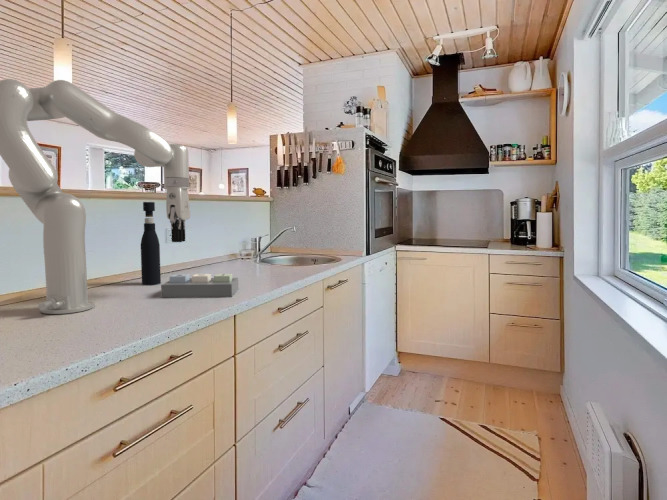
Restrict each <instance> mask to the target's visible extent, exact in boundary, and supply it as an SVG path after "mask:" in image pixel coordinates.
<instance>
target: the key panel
mask: <svg viewBox="0 0 667 500" xmlns="http://www.w3.org/2000/svg"><path fill="white" fill-rule="evenodd" d="M160 286H161V288H160V289H161V298H170V299H171V298H232V297H233V296H234V295H235V294H236V293H237V291H238V290H239V277H232V282H222V283H214V277H211V281H210V282H209V283H192V277H190V281H189V282H187V283H170V280H168V281H166V282H164V283H162V284H161V285H160Z"/></svg>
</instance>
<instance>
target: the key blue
mask: <svg viewBox="0 0 667 500" xmlns="http://www.w3.org/2000/svg"><path fill="white" fill-rule="evenodd" d="M190 275H191V274H190V273H176V274H175V273H174V274H172V275H170V276H168V277H169V278H168V279H169V281H170V283H187V282H189V281H190V278H191V276H190Z"/></svg>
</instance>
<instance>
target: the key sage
mask: <svg viewBox="0 0 667 500" xmlns="http://www.w3.org/2000/svg"><path fill="white" fill-rule="evenodd" d="M213 278H214V283H222V282H232V278H233V273H216V274H215V275H214V276H213Z"/></svg>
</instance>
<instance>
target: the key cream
mask: <svg viewBox="0 0 667 500" xmlns="http://www.w3.org/2000/svg"><path fill="white" fill-rule="evenodd" d="M191 278H192V283H209V282H210V281H211V278H212V274H211V273H195V274H194V275H191Z"/></svg>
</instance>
